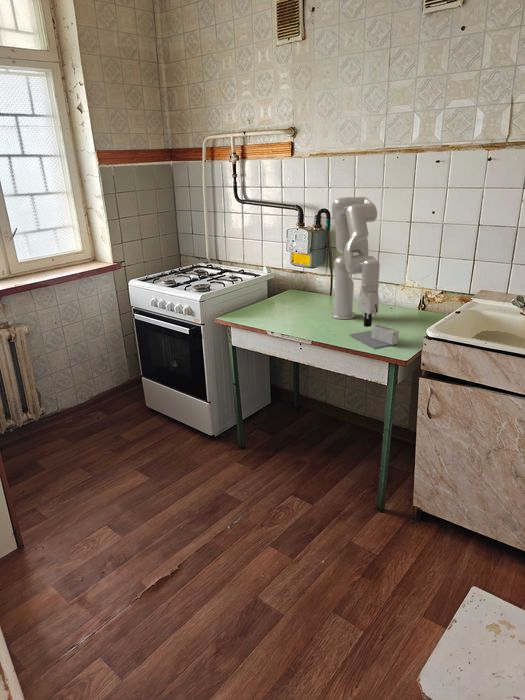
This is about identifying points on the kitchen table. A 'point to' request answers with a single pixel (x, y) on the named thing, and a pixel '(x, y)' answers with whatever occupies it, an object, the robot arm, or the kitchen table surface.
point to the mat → (369, 339)
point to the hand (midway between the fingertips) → (367, 326)
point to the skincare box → (385, 334)
